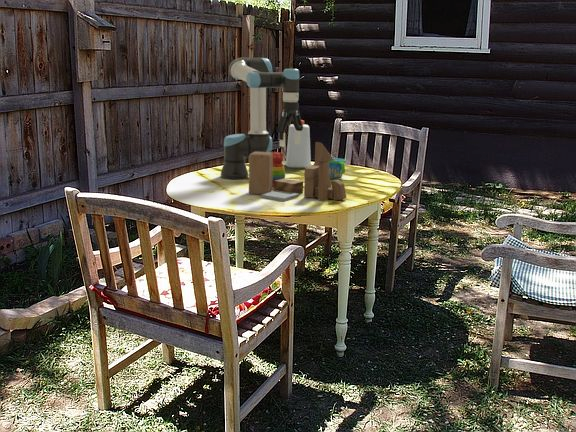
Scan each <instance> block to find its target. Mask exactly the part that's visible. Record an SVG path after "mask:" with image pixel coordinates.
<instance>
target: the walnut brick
mask: <svg viewBox="0 0 576 432" xmlns="http://www.w3.org/2000/svg"><path fill="white" fill-rule="evenodd" d="M276 190H278V191H284V192H290V193H297V194H299V195H301V194H304V181H301V180H296V179H295V180H294V179H291V178H290V179H289V178H284V179H280V180H275V181H274V187H273V191H276Z"/></svg>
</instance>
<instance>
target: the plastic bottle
mask: <svg viewBox="0 0 576 432" xmlns="http://www.w3.org/2000/svg"><path fill="white" fill-rule="evenodd" d="M301 121H302V125H303V129H302V131H300V144H294V143H295V130H296V129H295V127H294V125H293V123H292V124H289V126H288V134H287V135H288V137H287V145H286V155H285V156H286V158H285V159H286V160H285V166H286V167H287V168H290V169H291V168H292V169H305V168H307V167H309V166H312V161H311V158H312V157H311V137H310V136H311V135H310V134H311V133H310V130H311V129H310V125H308V124H305V120H303V119H301ZM296 131H297V130H296Z"/></svg>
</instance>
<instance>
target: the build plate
mask: <svg viewBox="0 0 576 432" xmlns="http://www.w3.org/2000/svg"><path fill="white" fill-rule="evenodd" d="M299 196H300V194H297V193H290V192H284V191H278V190H276V191H274V190H272V192H269V193H266V194H262V195H261V198H262V199H266V200H267V199H268V200H272V201H273V200H274V201H279V202H286V201H290V200H294V199H296V198H299Z"/></svg>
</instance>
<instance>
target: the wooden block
mask: <svg viewBox="0 0 576 432" xmlns="http://www.w3.org/2000/svg"><path fill="white" fill-rule="evenodd" d="M271 152H272V151H271ZM271 152H253V153H251V154H250V155H249V158H248V194H249V195H255V196H257V195H258V196H262V194H266V193H269V192H273V187H272V179H273V153H271Z"/></svg>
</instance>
